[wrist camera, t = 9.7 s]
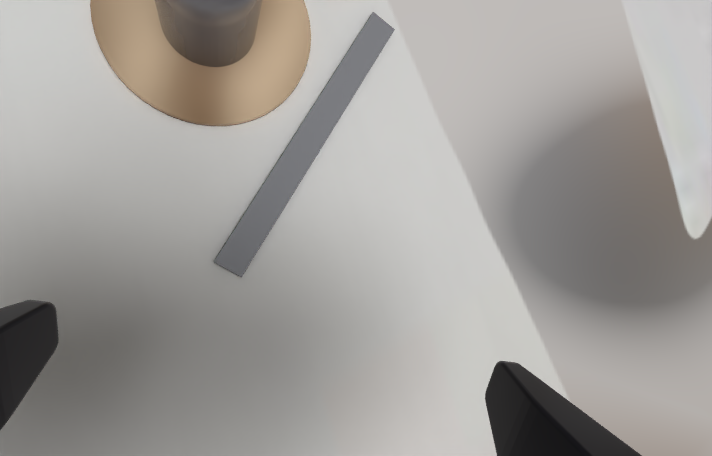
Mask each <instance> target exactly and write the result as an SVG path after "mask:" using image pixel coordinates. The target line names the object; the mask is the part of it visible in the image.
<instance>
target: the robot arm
mask: <svg viewBox="0 0 712 456" xmlns="http://www.w3.org/2000/svg"><path fill="white" fill-rule="evenodd" d="M57 344H58V326H57V316H56V308H55V306H54V305H53V304H52V303H50V302H43V301H35V300H27V301H24V302H20V303H17V304H14V305H11V306H7V307H4V308H1V309H0V430H1V429H2V427H3V426H4V425H5V424H6V422H7V421H8V420H9V418H10V417H11V415H12V414H13V412H14V411H15V410H16V408H17V407H18V405H19V404H20V402H21V401H22V399H23V398H24V396H25V395H26V393H27V392H28V390H29V389H30V387H31V386H32V384H33V383H34V381H35V380H36V378H37V377H38V375H39V374H40V372H41V371H42V369H43V368H44V366H45V365H46V363H47V362H48V360H49V359H50V357H51V356H52V354H53V353H54V351H55V349H56V347H57ZM485 400H486V406H487V411H488V415H489V420H490V425H491V429H492V434H493V439H494V443H495V448H496V453H497V456H641V455H640V454H639V453H638V452H636V451H635V450H634V449H632V448H631V447H629V446H628V445H627V444H625V443H624V442H623V441H621V440H620V439H619V438H617V437H616V436H615V435H613V434H612V433H611V432H609V431H608V430H607V429H605V428H604V427H603V426H601V425H600V424H599V423H597V422H596V421H595V420H593V419H592V418H591V417H589V416H588V415H587V414H585V413H584V412H583V411H581V410H580V409H579V408H577V407H576V406H575V405H573V404H572V403H571V402H569V401H568V400H567V399H565V398H564V397H563V396H561V395H560V394H559V393H557V392H556V391H555V390H553V389H552V388H551V387H549V386H548V385H547V384H545V383H544V382H543V381H541V380H540V379H539V378H537V377H536V376H535V375H533V374H532V373H531V372H529V371H528V370H527V369H525V368H524V367H523V366H521V365H520V364H518V363H515V362H507V361H499V362H498V363H497V364H496V365H495V368H494V370H493V373H492V376H491V378H490V381H489V384H488V387H487V390H486V394H485Z"/></svg>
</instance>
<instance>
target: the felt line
mask: <svg viewBox="0 0 712 456" xmlns="http://www.w3.org/2000/svg"><path fill="white" fill-rule="evenodd" d="M394 30H395V29H394V28H392V27H391V26H390V25H389V24H387V23H386V22H385V21H384V20H383V19H381V18H380V17H379V16H378V15H376V14H375V13H374V12H373V13H372V15H371V16H370V18H369V19H368V21H367V22H366V24H365V26H364V27H363V29H362V30H361V32H360V33H359V35H358V36H357V38H356V40H355V41H354V43H353V44H352V46H351V47H350V49H349V51H348V52H347V54H346V55H345V57H344V58H343V60H342V62H341V63H340V65H339V66H338V68H337V69H336V71H335V73H334V74H333V76H332V77H331V79H330V80H329V82H328V83H327V85H326V87H325V88H324V90H323V91H322V93H321V94H320V96H319V98H318V99H317V101H316V102H315V104H314V105H313V107H312V109H311V110H310V112H309V113H308V115H307V116H306V118H305V120H304V121H303V123H302V124H301V126H300V127H299V129H298V131H297V132H296V134H295V135H294V137H293V138H292V140H291V141H290V143H289V145H288V146H287V148H286V149H285V151H284V152H283V154H282V156H281V157H280V159H279V160H278V162H277V163H276V165H275V167H274V168H273V170H272V171H271V173H270V174H269V176H268V178H267V179H266V181H265V182H264V184H263V185H262V187H261V188H260V190H259V192H258V193H257V195H256V196H255V198H254V199H253V201H252V203H251V204H250V206H249V207H248V209H247V210H246V212H245V214H244V215H243V217H242V218H241V220H240V221H239V223H238V225H237V226H236V228H235V229H234V231H233V232H232V234H231V235H230V237H229V239H228V240H227V242H226V243H225V245H224V246H223V248H222V250H221V251H220V253H219V254H218V256H217V257H216V259H215V261H214V262H215V263H217V264H219V265H220V266H222V267H224V268H226V269H227V270H229V271H231V272H233V273H235V274H236V275H238V276H240V277H242V276H243V274H244V272H245V271H246V269H247V268H248V266H249V264H250V263H251V261H252V259H253V258H254V256H255V255H256V253H257V251H258V250H259V248H260V247H261V245H262V243H263V242H264V240H265V238H266V237H267V235H268V234H269V232H270V230H271V229H272V227H273V225H274V224H275V222H276V221H277V219H278V217H279V216H280V214H281V213H282V211H283V209H284V208H285V206H286V204H287V203H288V201H289V200H290V198H291V196H292V195H293V193H294V191H295V190H296V188H297V187H298V185H299V183H300V182H301V180H302V179H303V177H304V175H305V174H306V172H307V170H308V169H309V167H310V166H311V164H312V162H313V161H314V159H315V157H316V156H317V154H318V153H319V151H320V149H321V148H322V146H323V145H324V143H325V141H326V140H327V138H328V136H329V135H330V133H331V132H332V130H333V128H334V127H335V125H336V123H337V122H338V120H339V119H340V117H341V115H342V114H343V112H344V111H345V109H346V107H347V106H348V104H349V102H350V101H351V99H352V98H353V96H354V94H355V93H356V91H357V89H358V88H359V86H360V85H361V83H362V81H363V80H364V78H365V77H366V75H367V73H368V72H369V70H370V68H371V67H372V65H373V64H374V62H375V60H376V59H377V57H378V55H379V54H380V52H381V51H382V49H383V47H384V46H385V44H386V42H387V41H388V39H389V38H390V36H391V34H392V33H393V31H394Z"/></svg>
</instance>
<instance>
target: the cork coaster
mask: <svg viewBox="0 0 712 456" xmlns="http://www.w3.org/2000/svg"><path fill="white" fill-rule="evenodd" d="M90 7H91V18H92V23H93V28H94V32H95V35H96V38H97V40H98V43H99V46H100V48H101V50H102V52H103V54H104V56H105V57H106V59H107V61H108V63H109V64H110V66H111V67H112V69H113V70H114V72H115V73H116V74H117V76H118V77H119V78H120V79H121V81H122V82H123V83H124V84H125V85H126V86H127V87H128V88H129V89H130V90H131V91H132V92H133V93H135V94H136V95H137V96H138V97H139V98H140V99H142V100H143V101H145V102H146V103H148V104H149V105H151V106H152V107H154V108H155V109H157V110H159V111H161V112H163V113H165V114H167V115H169V116H172V117H174V118H177V119H180V120H182V121H186V122H190V123H195V124H200V125H209V126H228V125H236V124H241V123H245V122H249V121H252V120H254V119H257V118H259V117H262V116H264V115H266V114H267V113H269V112H271V111H272V110H274V109H275V108H276V107H278V106H279V105H280V104H281V103H283V102H284V101H285V100H286V99H287V97H288V96H289V95H290V94H291V93H292V92H293V90H294V89H295V87H296V86H297V84H298V83H299V81H300V79H301V77H302V75H303V73H304V71H305V68H306V65H307V61H308V58H309V52H310V44H311V31H310V21H309V17H308V12H307V9H306V6H305V3H304V0H262V5H261V10H260V15H259V20H258V25H257V30H256V35H255V40H254V43H253V45H252V47H251V49H250V50H249V52H248V53H247V54H246V55H245V56H244V57H243V58H242V59H241V60H239V61H238V62H236V63H234V64H231V65H228V66H224V67H208V66H203V65H199V64H196V63H194V62H192V61H190V60H188V59H186V58H185V57H183V56H182V55H180V54H179V53H178V52H177V51H176V50H175V49H174V48H173V47H172V46H171V45H170V43H169V42H168V41H167V39H166V37H165V35H164V33H163V31H162V28H161V24H160V20H159V16H158V12H157V8H156V4H155V0H91V3H90Z"/></svg>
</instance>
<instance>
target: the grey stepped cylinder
mask: <svg viewBox="0 0 712 456" xmlns="http://www.w3.org/2000/svg"><path fill="white" fill-rule="evenodd" d="M155 4H156V8H157V12H158V16H159V20H160V24H161V28H162V31H163V33H164V35H165V37H166V39H167V41H168V42H169V43H170V45H171V46H172V47H173V48H174V49H175V50H176V51H177V52H178V53H179V54H180V55H182V56H183V57H185V58H186V59H188V60H190V61H192V62H194V63H196V64H199V65H203V66H208V67H224V66H228V65H231V64H234V63H236V62H238V61H239V60H241V59H242V58H243V57H244V56H245V55H246V54H247V53H248V52H249V50H250V49H251V47H252V45H253V43H254V40H255V35H256V30H257V25H258V20H259V15H260V10H261V5H262V0H155Z"/></svg>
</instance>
